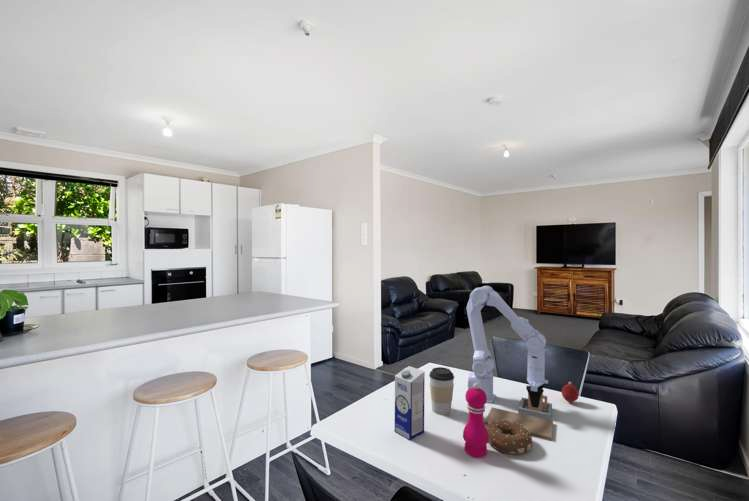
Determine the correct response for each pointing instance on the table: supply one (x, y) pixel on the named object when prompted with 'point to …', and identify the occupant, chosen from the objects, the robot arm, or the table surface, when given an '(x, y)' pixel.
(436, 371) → the coffee cup
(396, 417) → the milk carton
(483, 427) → the pepper mill
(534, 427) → the board
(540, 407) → the peach cube with handle
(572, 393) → the onion
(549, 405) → the collar
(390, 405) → the table surface
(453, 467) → the table surface
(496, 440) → the donut
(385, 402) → the table surface
